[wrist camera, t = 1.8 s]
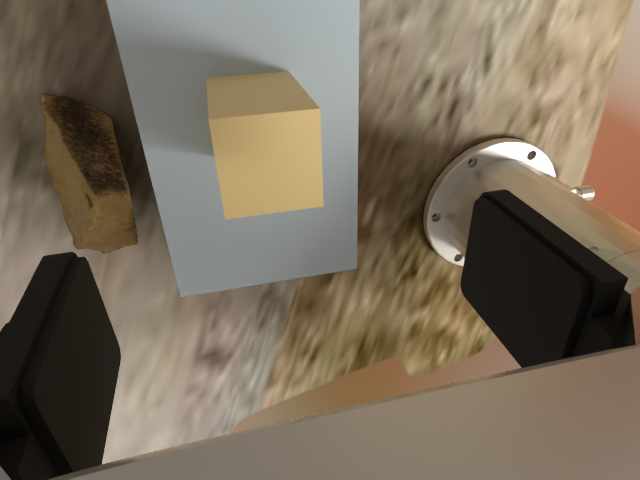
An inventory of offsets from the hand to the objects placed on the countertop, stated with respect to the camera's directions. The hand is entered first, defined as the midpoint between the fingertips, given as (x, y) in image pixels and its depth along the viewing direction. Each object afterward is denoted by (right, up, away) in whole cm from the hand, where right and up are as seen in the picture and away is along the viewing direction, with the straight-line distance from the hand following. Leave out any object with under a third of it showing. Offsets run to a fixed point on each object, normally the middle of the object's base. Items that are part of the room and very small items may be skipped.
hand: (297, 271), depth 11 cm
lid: (-3, +8, +13) cm, 15 cm away
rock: (-16, +6, +22) cm, 27 cm away
